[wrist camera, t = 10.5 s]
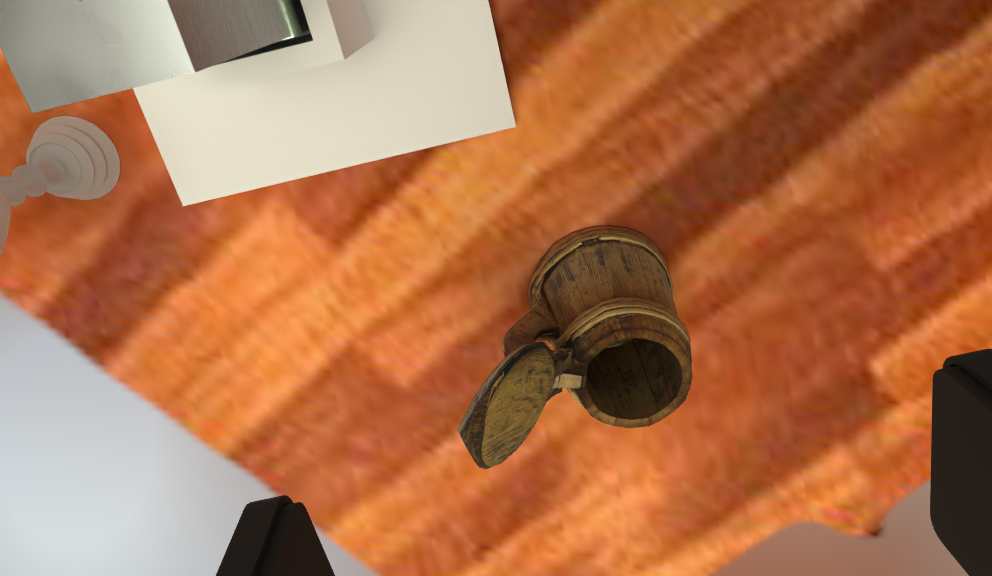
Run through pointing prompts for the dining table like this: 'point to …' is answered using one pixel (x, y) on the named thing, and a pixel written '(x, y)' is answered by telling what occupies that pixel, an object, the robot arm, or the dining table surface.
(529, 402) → the wooden mug
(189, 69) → the column
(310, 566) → the robot arm
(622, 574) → the dining table surface
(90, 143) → the chalice
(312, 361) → the dining table surface
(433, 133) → the stand
